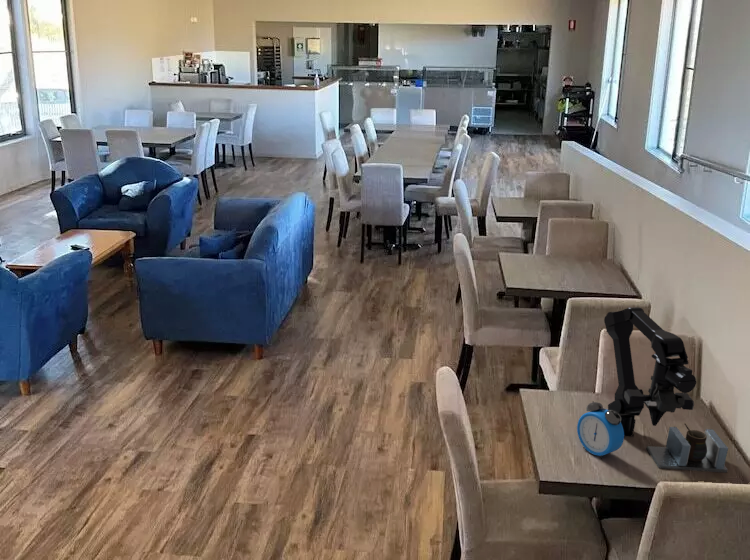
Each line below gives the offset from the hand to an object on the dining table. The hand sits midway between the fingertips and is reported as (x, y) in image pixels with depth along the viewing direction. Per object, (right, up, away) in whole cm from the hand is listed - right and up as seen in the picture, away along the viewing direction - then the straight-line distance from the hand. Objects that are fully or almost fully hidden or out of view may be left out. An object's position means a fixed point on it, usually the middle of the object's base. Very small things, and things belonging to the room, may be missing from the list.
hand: (653, 425), depth 223 cm
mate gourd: (+12, -10, +1) cm, 15 cm away
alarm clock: (-16, -9, +3) cm, 18 cm away
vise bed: (+10, -11, +1) cm, 15 cm away
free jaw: (+7, -9, +1) cm, 12 cm away
